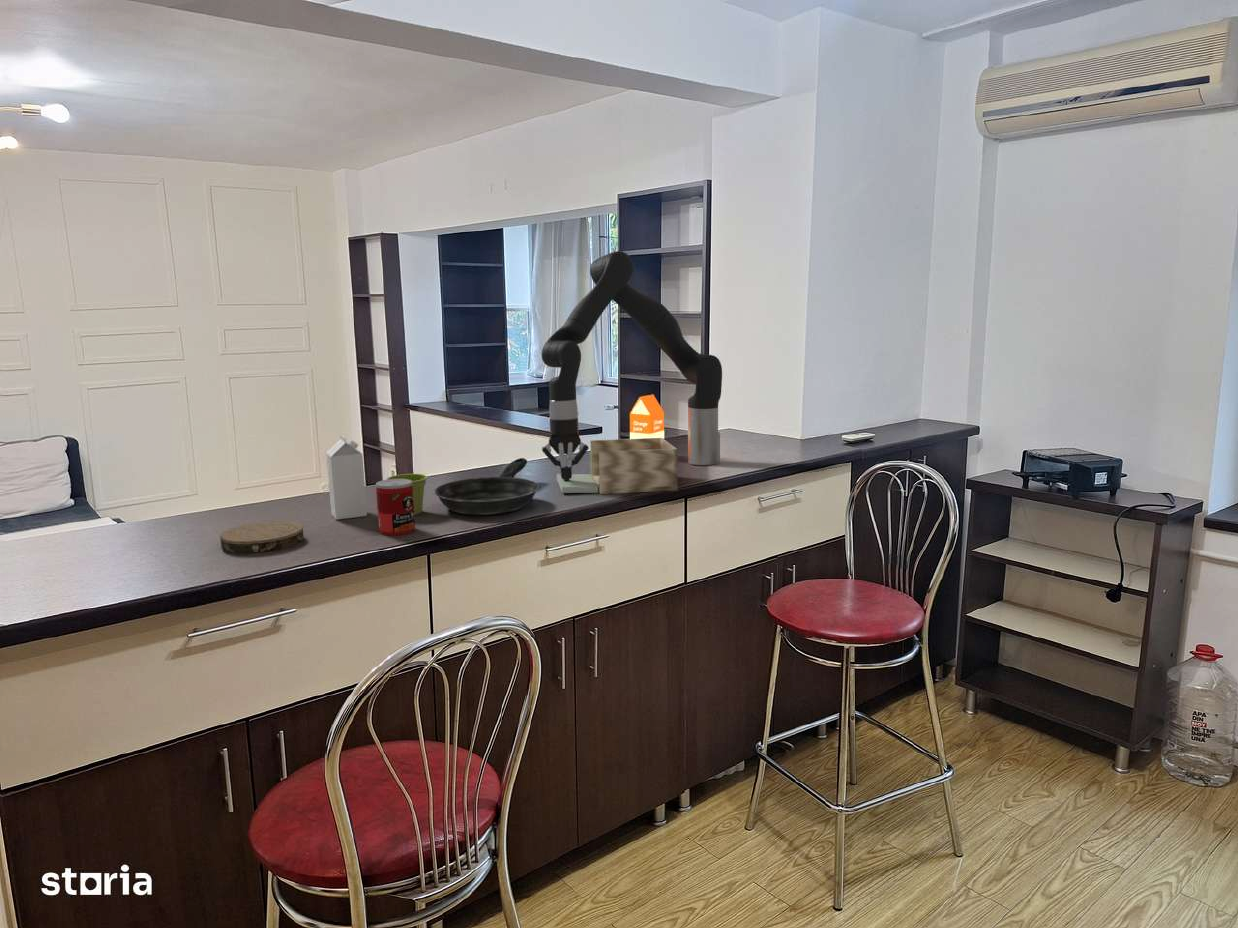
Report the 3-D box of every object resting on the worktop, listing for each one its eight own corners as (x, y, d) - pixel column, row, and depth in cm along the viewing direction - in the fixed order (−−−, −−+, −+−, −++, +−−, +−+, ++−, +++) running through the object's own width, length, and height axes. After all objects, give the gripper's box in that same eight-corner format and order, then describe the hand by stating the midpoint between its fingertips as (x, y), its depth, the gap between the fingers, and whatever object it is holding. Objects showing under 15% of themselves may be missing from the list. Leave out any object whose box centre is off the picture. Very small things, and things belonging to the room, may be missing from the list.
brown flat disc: (319, 536, 177) (317, 522, 177) (272, 557, 162) (271, 543, 162) (255, 532, 181) (253, 519, 180) (203, 553, 166) (202, 539, 165)
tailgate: (590, 474, 229) (556, 474, 228) (598, 487, 213) (562, 487, 211) (590, 479, 230) (556, 479, 228) (598, 492, 213) (562, 492, 212)
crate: (662, 475, 234) (661, 437, 232) (677, 490, 215) (677, 449, 213) (591, 478, 231) (590, 440, 229) (600, 494, 212) (599, 452, 210)
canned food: (397, 537, 174) (393, 487, 172) (371, 532, 178) (367, 483, 176) (423, 529, 180) (420, 480, 178) (397, 524, 185) (394, 477, 183)
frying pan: (520, 522, 186) (519, 493, 184) (417, 518, 191) (416, 489, 190) (571, 482, 228) (570, 458, 226) (486, 479, 233) (485, 456, 232)
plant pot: (437, 512, 195) (435, 477, 194) (402, 520, 189) (400, 483, 187) (415, 506, 202) (412, 472, 200) (381, 513, 195) (378, 478, 193)
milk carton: (335, 520, 189) (329, 439, 186) (331, 514, 195) (324, 435, 192) (367, 516, 192) (361, 436, 189) (361, 510, 199) (355, 433, 195)
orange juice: (664, 456, 264) (664, 394, 260) (650, 461, 257) (650, 397, 253) (643, 454, 268) (643, 393, 264) (629, 458, 261) (628, 396, 257)
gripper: (586, 413, 221) (589, 476, 224) (538, 415, 219) (541, 479, 222) (590, 417, 214) (592, 481, 217) (539, 419, 212) (542, 484, 215)
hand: (566, 480), depth 220 cm, fingers closed
